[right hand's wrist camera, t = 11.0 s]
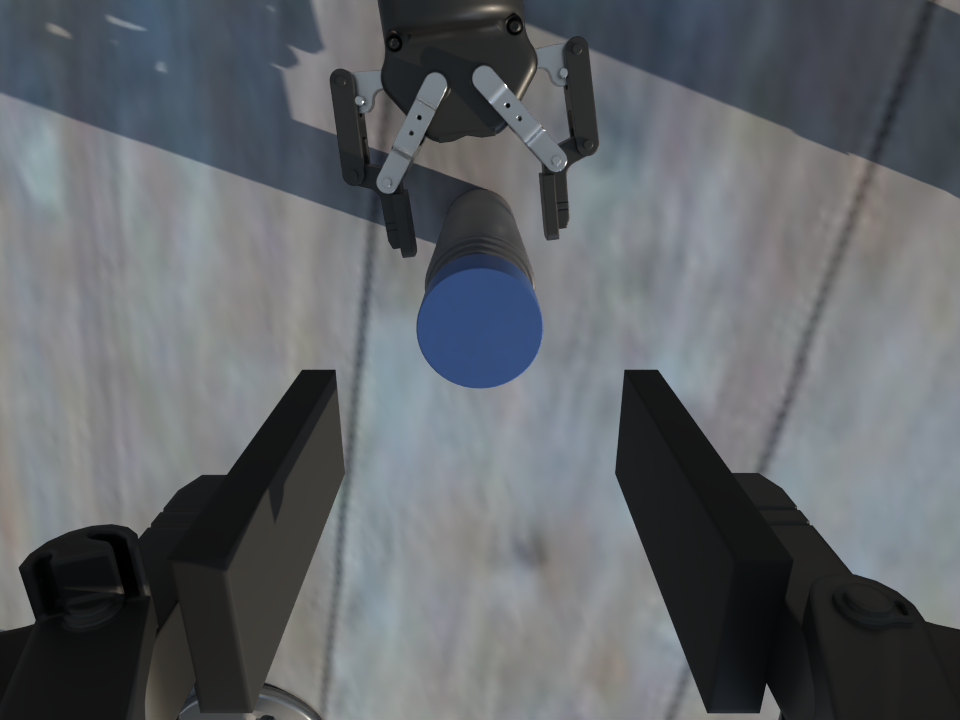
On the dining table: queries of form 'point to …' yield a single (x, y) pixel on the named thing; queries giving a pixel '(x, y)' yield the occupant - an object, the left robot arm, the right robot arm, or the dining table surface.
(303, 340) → the dining table surface
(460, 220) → the bottle
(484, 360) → the cap
